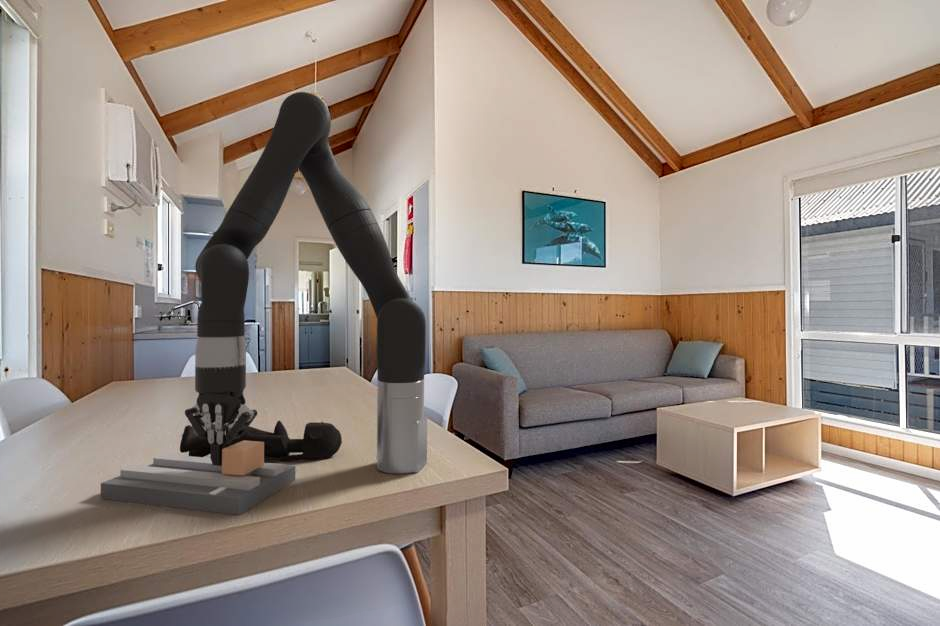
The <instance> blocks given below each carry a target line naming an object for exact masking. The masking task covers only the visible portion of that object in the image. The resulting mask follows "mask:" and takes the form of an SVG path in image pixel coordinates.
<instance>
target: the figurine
mask: <svg viewBox="0 0 940 626" xmlns="http://www.w3.org/2000/svg"><path fill="white" fill-rule="evenodd" d="M303 432H304V433H303V438H290V437H289V434H288V431H287V429H286V428H285V426H284V425H283V423H282V421H281V420H278V421H277V422H276V424H275V427H274V428H273V432H271V431H267V430H263V429H259V428H257V427H252V426H250V425H249V427H248V428H247V429H246V431H245V432H244V434H243V435H242V436H241V437H239V438H237V439H234V440H232V442H231V445H234V444H236V443H239V442H241V441H244V440H246V441H259V442H264V457H280V462H292V461H314V460H315V461H316V460H317V461H318V459H319V460H325V458H326V459H329V458H331V457H333V456H334V455H335V454H337V452H338V451H339V449H340V448H341V446H342V443H343V440H342V439H343V437H342V434H341V431H340V430H339V429H338V428H336V426H334V424H332V423H330V422H329V423H328V422H324V421H321V422H314V421H313V422H308V423H306V424H305V426H304V431H303ZM179 452H180V453H188V456H193V457H204V458H206V457H208V456H209V455H211V444H210V443H209V442H208V440H206V439H200V437H199V436H195V435H194V432H193V427H192V425H190V424H188V425H185V426H184V429H183V433H182V435H181V440H180V445H179ZM291 453H293V454H291ZM294 453H295V454H294ZM296 453H301V454H296Z"/></svg>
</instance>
